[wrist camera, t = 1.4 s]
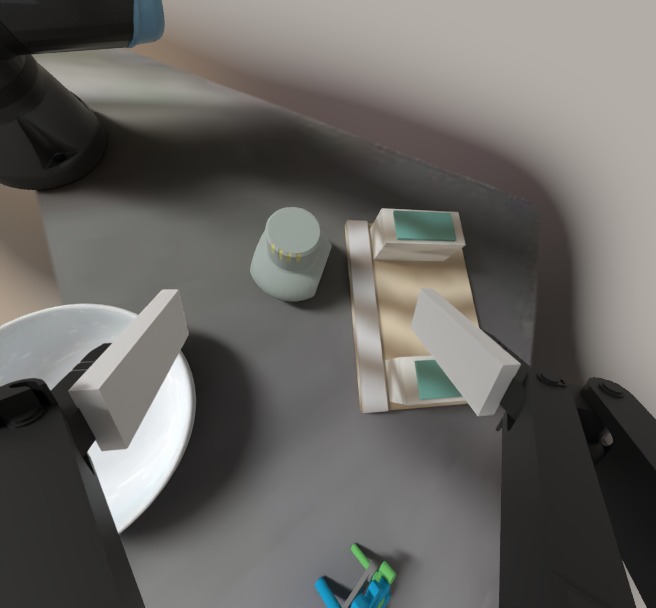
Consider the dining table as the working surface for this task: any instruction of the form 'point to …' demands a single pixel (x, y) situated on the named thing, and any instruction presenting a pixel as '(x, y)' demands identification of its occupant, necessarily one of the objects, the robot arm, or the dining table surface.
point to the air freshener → (290, 255)
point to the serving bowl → (158, 424)
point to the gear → (363, 586)
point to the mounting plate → (403, 304)
